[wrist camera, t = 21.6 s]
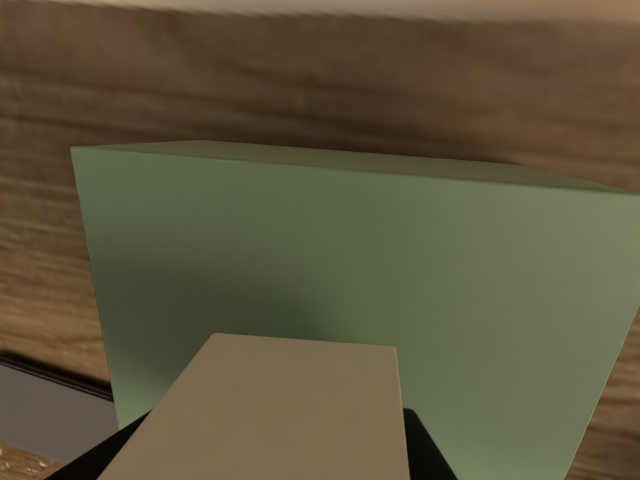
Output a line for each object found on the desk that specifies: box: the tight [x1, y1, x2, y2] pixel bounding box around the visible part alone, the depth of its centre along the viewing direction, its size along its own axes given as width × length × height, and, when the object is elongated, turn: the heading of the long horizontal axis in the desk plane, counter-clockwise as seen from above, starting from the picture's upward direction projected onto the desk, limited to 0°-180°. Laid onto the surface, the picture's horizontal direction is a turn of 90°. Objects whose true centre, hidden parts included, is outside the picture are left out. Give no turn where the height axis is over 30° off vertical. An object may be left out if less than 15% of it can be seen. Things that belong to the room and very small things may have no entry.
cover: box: [70, 146, 640, 480], centre depth 9 cm, size 13×11×1 cm
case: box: [96, 140, 628, 191], centre depth 12 cm, size 13×11×6 cm
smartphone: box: [0, 355, 119, 466], centre depth 20 cm, size 7×1×15 cm
